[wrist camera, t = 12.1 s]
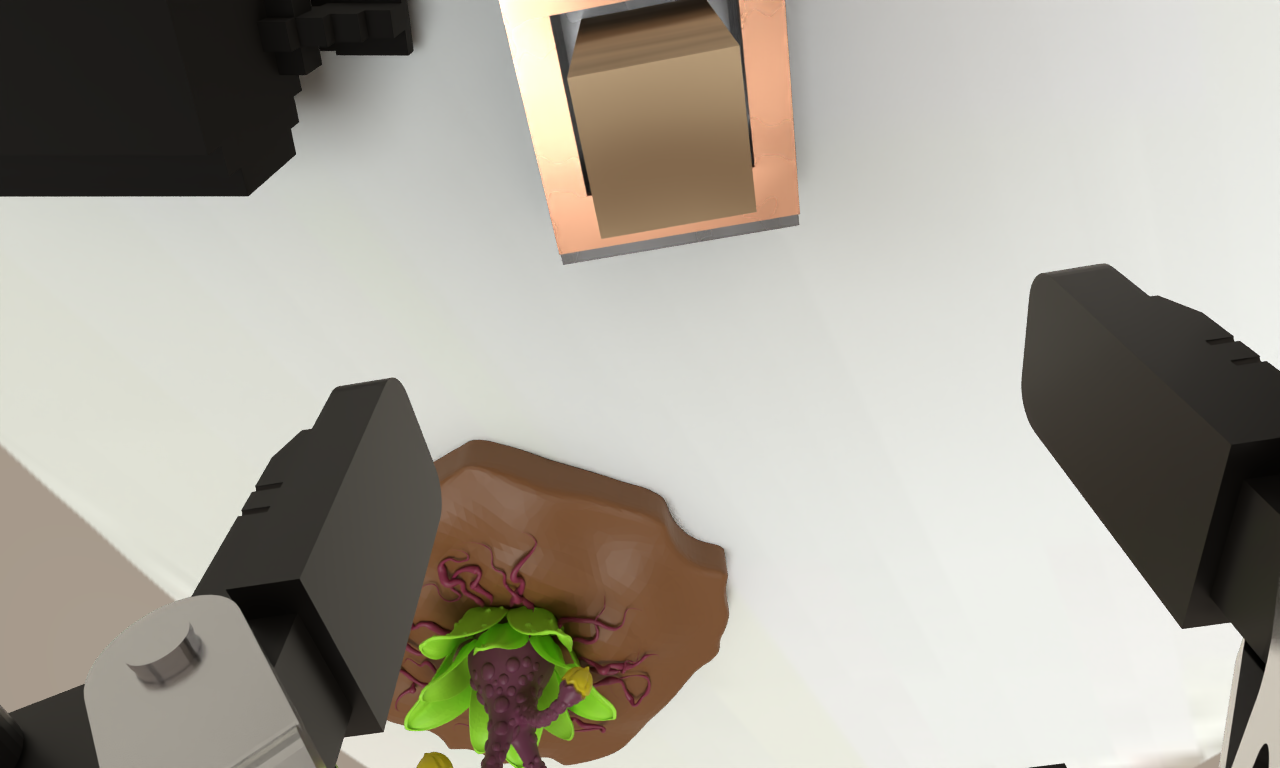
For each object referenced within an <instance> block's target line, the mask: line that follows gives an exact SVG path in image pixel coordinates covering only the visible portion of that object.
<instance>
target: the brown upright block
mask: <svg viewBox="0 0 1280 768" xmlns="http://www.w3.org/2000/svg"><path fill="white" fill-rule="evenodd" d="M567 80H568V85H569V90H570V94H571V99H572V104H573V108H574V113H575V118H576V123H577V127H578V132H579V137H580V141H581V146H582V151H583V156H584V160H585V165H586V170H587V174H588V179H589V184H590V188H591V193H592V198H593V203H594V207H595V212H596V217H597V221H598V226H599V231H600V236H601V239H605V238H611V237H616V236H622V235H628V234H634V233H639V232H645V231H651V230H656V229H662V228H668V227H674V226H679V225H685V224H691V223H696V222H702V221H708V220H714V219H719V218H725V217H731V216H736V215H742V214H748V213H754V212H757V210H756V200H755V190H754V181H753V171H752V161H751V152H750V142H749V132H748V123H747V113H746V103H745V94H744V84H743V74H742V65H741V55H740V46H739V44H738V43H737V41H736V40H735V39H734V37H733V36H732V34H731V33H730V32H729V30H728V29H727V27H726V26H725V25H724V23H723V22H722V21H721V19H720V18H719V16H718V15H717V14H716V12H715V11H714V9H713V8H712V7H711V5H710V4H709V2H708V1H707V0H678V1H673V2H668V3H663V4H658V5H653V6H647V7H642V8H637V9H632V10H627V11H622V12H617V13H611V14H606V15H601V16H596V17H591V18H586V19H581V22H580V26H579V30H578V35H577V39H576V43H575V47H574V51H573V55H572V60H571V64H570V68H569V72H568V76H567Z"/></svg>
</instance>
